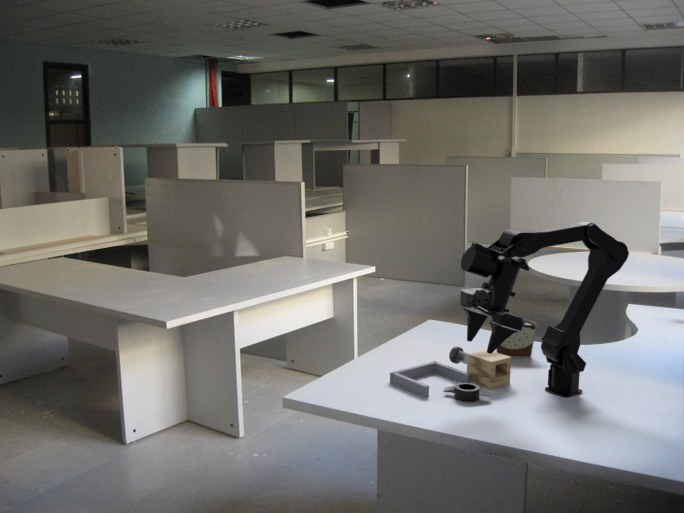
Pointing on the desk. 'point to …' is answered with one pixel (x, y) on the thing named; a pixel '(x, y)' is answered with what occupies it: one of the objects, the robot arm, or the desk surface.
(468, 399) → the black ring with tabs
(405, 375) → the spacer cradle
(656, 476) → the desk surface
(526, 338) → the food container
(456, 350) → the shaft
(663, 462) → the desk surface
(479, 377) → the bearing block
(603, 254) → the robot arm
